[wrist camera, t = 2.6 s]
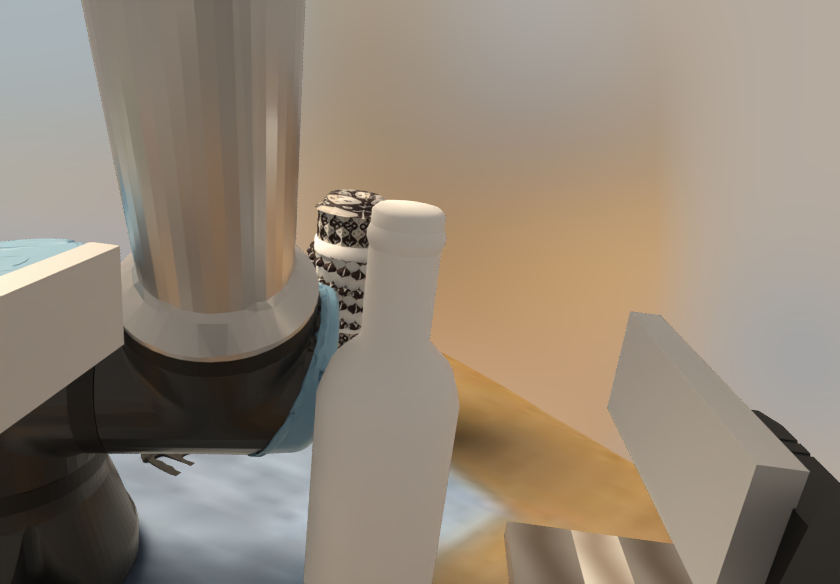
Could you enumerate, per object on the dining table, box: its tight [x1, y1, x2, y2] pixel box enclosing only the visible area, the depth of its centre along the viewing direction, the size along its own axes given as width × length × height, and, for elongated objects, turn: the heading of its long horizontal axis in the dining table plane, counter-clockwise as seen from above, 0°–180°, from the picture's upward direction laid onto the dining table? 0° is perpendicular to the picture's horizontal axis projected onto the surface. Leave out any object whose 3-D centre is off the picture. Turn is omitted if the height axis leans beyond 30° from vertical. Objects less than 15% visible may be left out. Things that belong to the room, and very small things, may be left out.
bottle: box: [303, 200, 460, 584], centre depth 33 cm, size 8×8×30 cm
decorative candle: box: [307, 190, 386, 348], centre depth 63 cm, size 9×9×25 cm
